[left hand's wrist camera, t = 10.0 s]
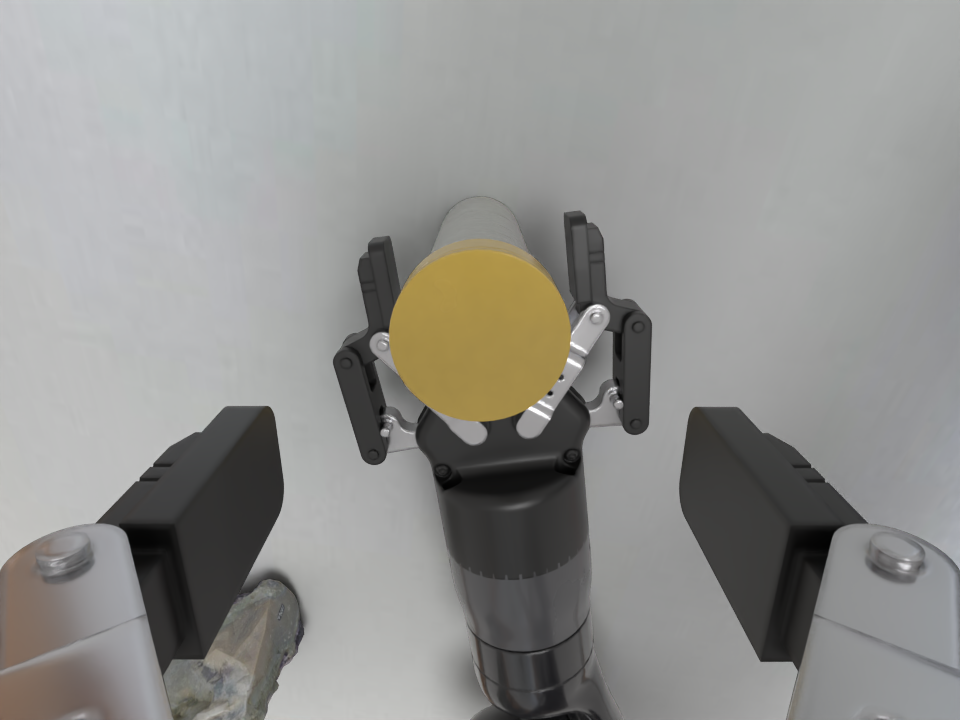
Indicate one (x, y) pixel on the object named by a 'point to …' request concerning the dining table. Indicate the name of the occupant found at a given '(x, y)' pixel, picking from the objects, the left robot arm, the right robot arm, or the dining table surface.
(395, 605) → the dining table surface
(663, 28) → the dining table surface
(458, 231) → the silver metal cylinder
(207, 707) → the mineral rock
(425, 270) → the lid
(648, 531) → the dining table surface
